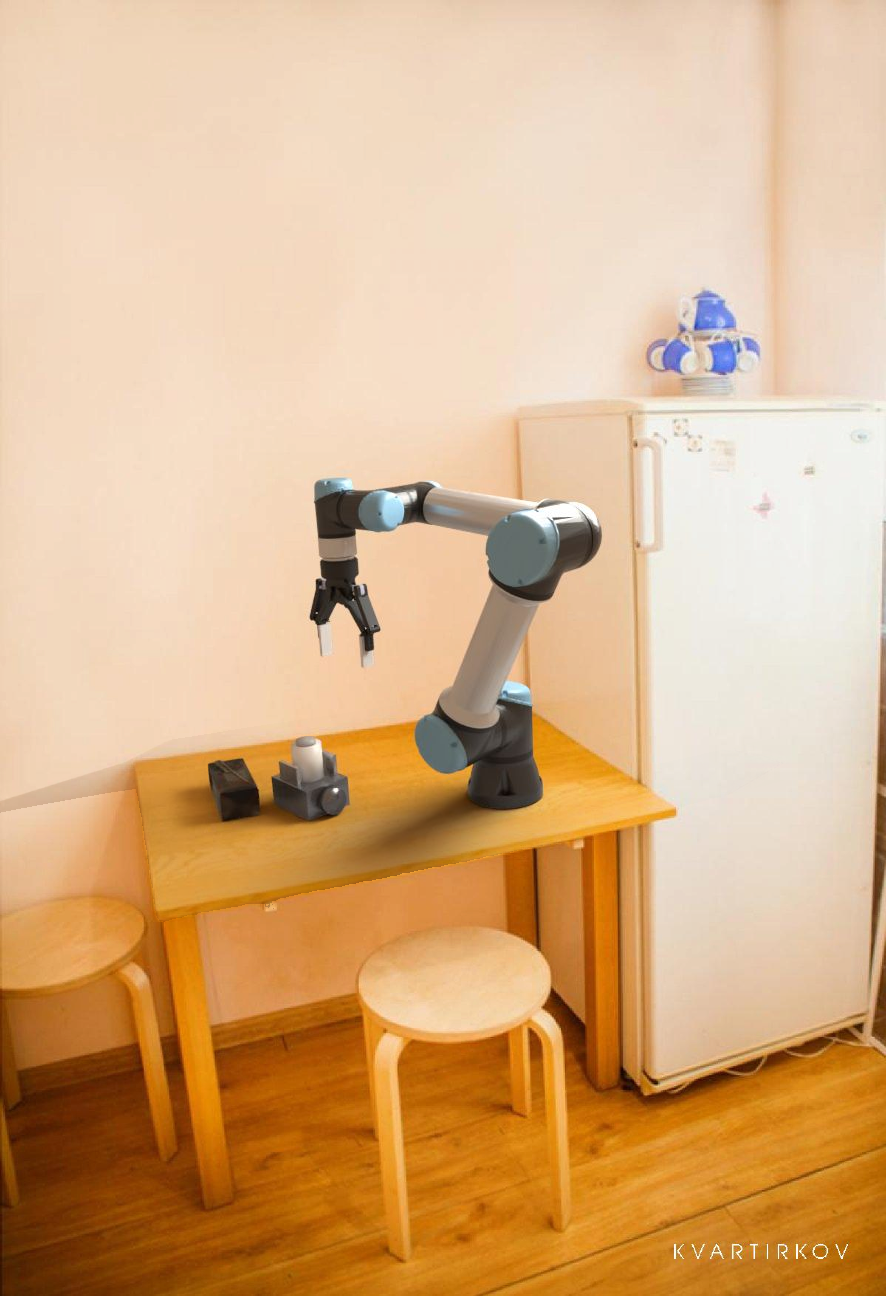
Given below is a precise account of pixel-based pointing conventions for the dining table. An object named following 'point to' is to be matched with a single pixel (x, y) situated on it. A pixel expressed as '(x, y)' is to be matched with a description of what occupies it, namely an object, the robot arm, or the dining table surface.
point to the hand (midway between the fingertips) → (346, 660)
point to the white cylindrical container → (308, 758)
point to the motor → (311, 790)
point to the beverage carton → (233, 789)
